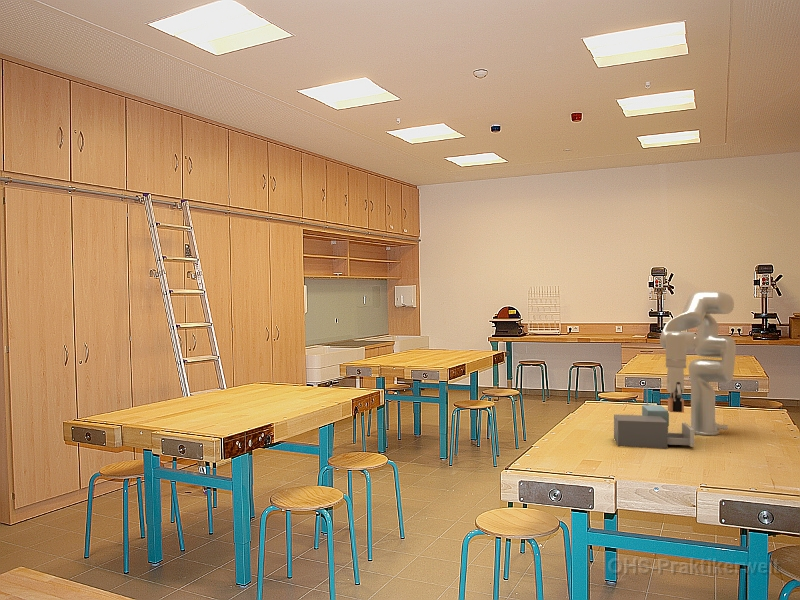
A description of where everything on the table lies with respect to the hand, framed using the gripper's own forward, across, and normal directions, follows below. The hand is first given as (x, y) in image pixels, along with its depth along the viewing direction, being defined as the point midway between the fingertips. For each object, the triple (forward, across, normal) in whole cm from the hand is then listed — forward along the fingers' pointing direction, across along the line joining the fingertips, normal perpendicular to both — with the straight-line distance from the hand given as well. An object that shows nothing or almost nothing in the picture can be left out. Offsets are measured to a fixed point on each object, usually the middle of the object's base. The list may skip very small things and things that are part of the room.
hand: (675, 410), depth 264 cm
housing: (+14, 0, -13) cm, 19 cm away
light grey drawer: (+12, 0, -3) cm, 13 cm away
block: (+1, 0, 0) cm, 1 cm away
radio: (+14, -18, -4) cm, 23 cm away
